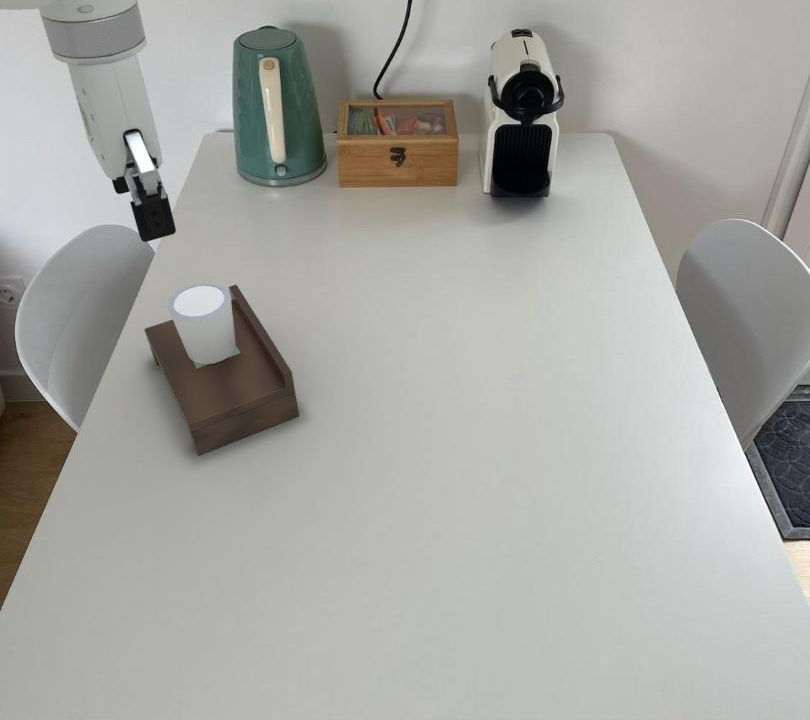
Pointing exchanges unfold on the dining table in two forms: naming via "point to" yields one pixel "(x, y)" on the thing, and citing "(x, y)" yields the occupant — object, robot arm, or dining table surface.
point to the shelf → (227, 381)
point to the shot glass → (204, 321)
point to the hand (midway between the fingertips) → (144, 212)
